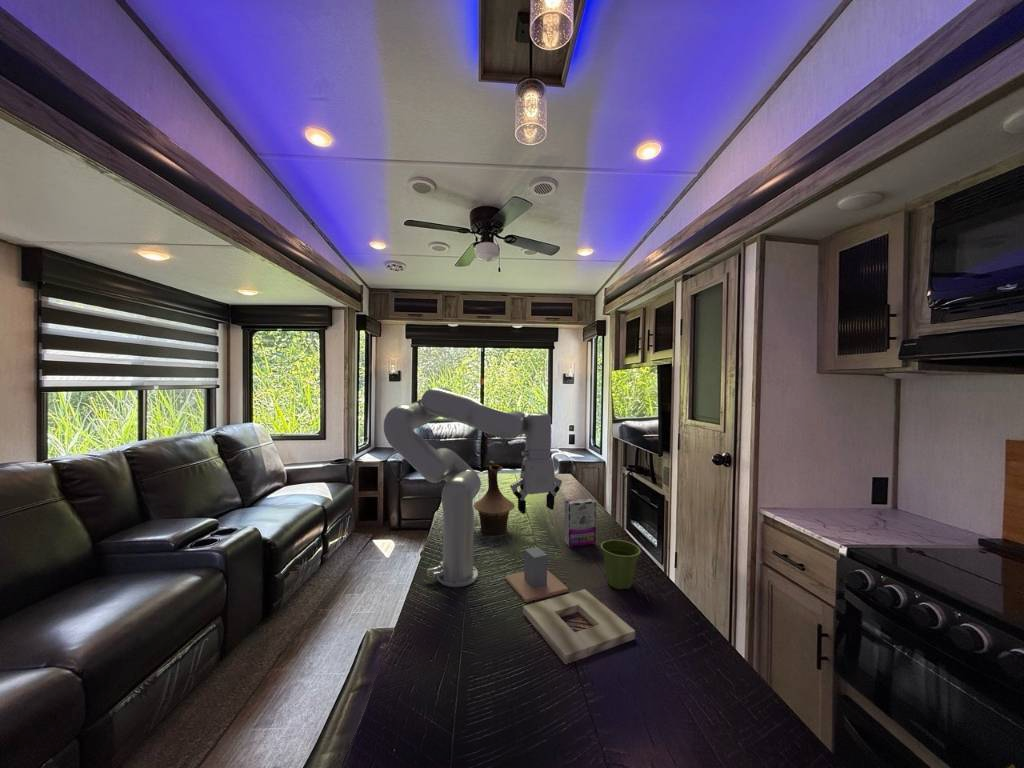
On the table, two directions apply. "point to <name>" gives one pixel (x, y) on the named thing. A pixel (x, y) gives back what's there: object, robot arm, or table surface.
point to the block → (535, 567)
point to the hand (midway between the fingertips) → (536, 510)
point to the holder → (583, 642)
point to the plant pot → (620, 562)
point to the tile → (535, 593)
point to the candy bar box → (580, 522)
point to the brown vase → (493, 505)
